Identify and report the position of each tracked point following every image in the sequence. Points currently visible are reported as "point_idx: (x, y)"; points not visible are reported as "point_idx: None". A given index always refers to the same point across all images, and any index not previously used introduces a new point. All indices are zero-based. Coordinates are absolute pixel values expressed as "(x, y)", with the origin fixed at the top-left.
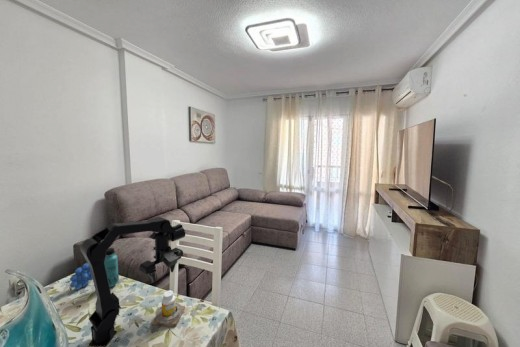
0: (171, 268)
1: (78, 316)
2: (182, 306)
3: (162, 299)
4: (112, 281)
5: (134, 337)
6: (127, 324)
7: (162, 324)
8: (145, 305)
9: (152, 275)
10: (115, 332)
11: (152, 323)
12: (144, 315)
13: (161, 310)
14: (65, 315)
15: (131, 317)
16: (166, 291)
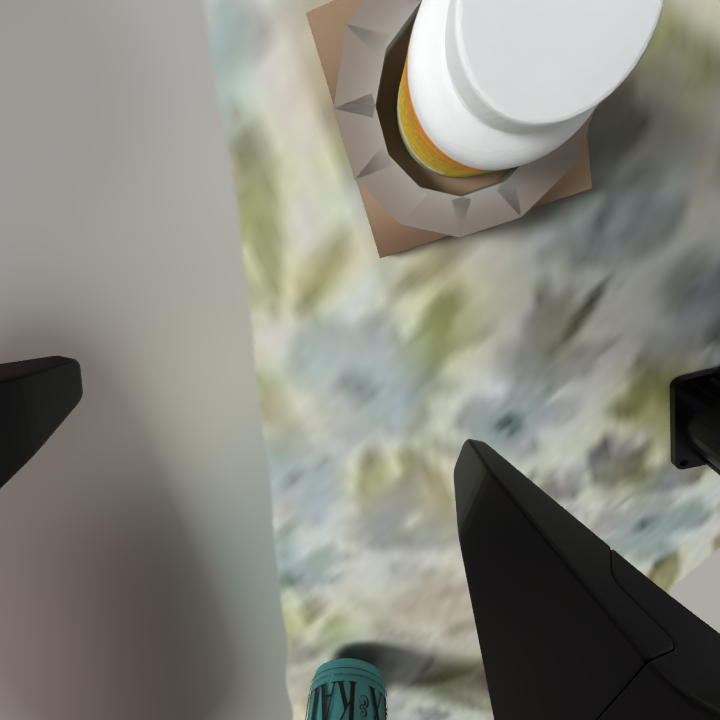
0: (6, 426)
1: None
2: (325, 36)
3: (563, 132)
4: (364, 696)
5: (707, 228)
6: (597, 370)
7: None
8: (411, 395)
9: (695, 621)
10: (692, 381)
11: (588, 182)
12: (497, 327)
13: (479, 190)
14: None
15: (535, 394)
16: (510, 104)
